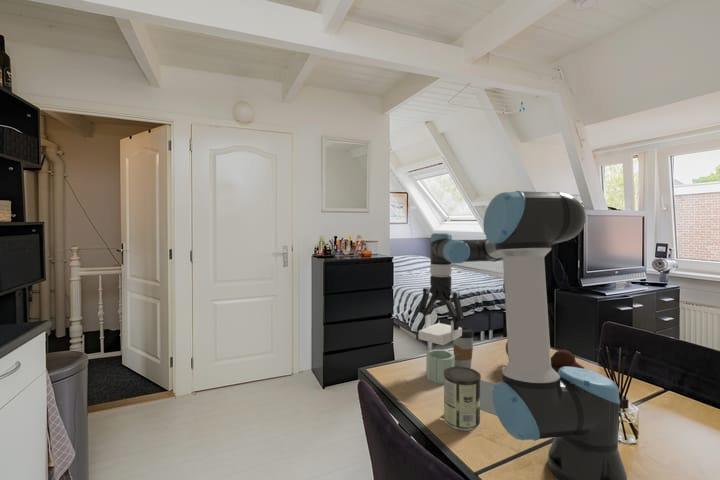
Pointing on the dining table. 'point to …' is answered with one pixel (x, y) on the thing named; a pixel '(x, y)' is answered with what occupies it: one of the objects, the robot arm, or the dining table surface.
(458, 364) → the coffee cup
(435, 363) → the ribbed green pot
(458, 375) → the coffee can
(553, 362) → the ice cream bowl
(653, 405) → the dining table surface
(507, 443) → the dining table surface
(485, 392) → the mat
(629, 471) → the dining table surface
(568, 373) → the robot arm
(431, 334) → the lid
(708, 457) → the dining table surface
